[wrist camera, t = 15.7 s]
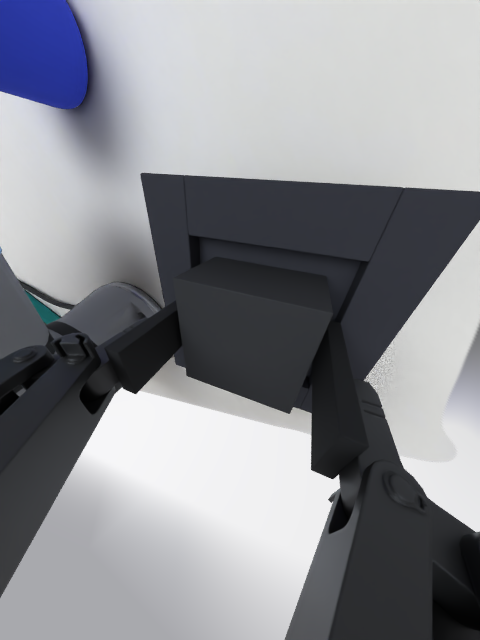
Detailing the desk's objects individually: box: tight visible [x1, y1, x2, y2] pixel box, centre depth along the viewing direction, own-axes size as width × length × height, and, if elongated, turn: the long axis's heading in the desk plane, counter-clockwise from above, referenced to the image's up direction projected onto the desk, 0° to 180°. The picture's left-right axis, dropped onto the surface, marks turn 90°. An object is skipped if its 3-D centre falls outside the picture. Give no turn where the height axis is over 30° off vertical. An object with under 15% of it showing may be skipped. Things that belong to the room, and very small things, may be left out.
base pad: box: [141, 173, 480, 413], centre depth 13 cm, size 15×15×2 cm
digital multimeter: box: [25, 291, 60, 325], centre depth 40 cm, size 7×15×3 cm, turn 57°
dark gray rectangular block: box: [173, 257, 333, 414], centre depth 11 cm, size 7×7×4 cm
